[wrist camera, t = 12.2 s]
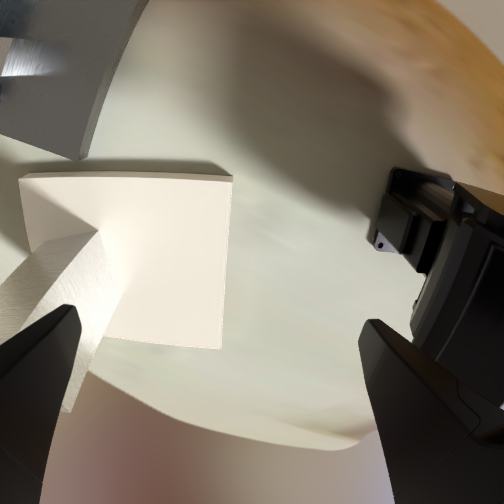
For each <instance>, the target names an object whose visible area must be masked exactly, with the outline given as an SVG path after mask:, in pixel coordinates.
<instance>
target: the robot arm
mask: <svg viewBox="0 0 504 504" xmlns="http://www.w3.org/2000/svg"><path fill="white" fill-rule="evenodd" d="M397 172H399V176H398V177H396V173H397ZM453 186H454V189H452V188H453ZM376 227H377V230H376V233H375V237H374V241H373V247H374V248H375V249H376V250H377V251H382V252H393V253H399V254H401V255H403V256H404V258H405V259H406V260H407V261H408V262H409V263H410V265H411V266H412V267H413V268H414V269H415V271H416V272H417V273H422V274H423V275H424V276H425V277H426V280H425V282H424V285H423V287H422V290H421V292H420V294H419V297H418V299H417V300H415V303H414V305H413V313H412V315H411V320H410V327H411V331H412V335H413V337H414V338H413V340H412V343H411V342H409V341H408V340H407V339H405V338H404V337H403V336H401V335H400V334H399V333H397V332H396V331H395V330H393V329H392V328H391V327H389V326H388V325H387V324H385V323H384V322H383V321H381V320H380V319H368V320H366V322H365V324H364V326H363V329H362V332H361V334H360V337H359V340H358V346H359V351H360V356H361V362H362V368H363V373H364V379H365V384H366V388H367V392H368V395H369V399H370V402H371V406H372V410H373V413H374V417H375V421H376V424H377V428H378V432H379V436H380V440H381V444H382V448H383V452H384V456H385V460H386V464H387V468H388V473H389V477H390V482H391V486H392V491H393V495H394V501H395V504H504V410H503V409H501V407H502V406H503V405H504V196H503V195H500V194H497V193H494V192H491V191H488V190H485V189H481V188H478V187H475V186H471V185H468V184H464V183H461V182H457V181H456V182H455V181H453V180H449V179H446V178H442V177H438V176H434V175H430V174H426V173H422V172H418V171H414V170H409V169H405V168H401V167H394V168H393V169H392V170H391V173H390V177H389V182H388V186H387V190H386V194H385V195H384V196H383V200H382V204H381V208H380V212H379V216H378V219H377V223H376ZM380 242H382V243H381V245H380V246H378V244H379V243H380ZM81 333H82V324H81V321H80V318H79V314H78V311H77V308H76V306H75V305H71V304H62V305H60V306H59V307H57V308H56V309H54V310H53V311H51V312H49V313H48V314H46V315H45V316H43V317H42V318H40V319H39V320H37V321H35V322H34V323H32V324H31V325H29V326H28V327H26V328H25V329H23V330H22V331H20V332H19V333H17V334H16V335H14V336H13V337H11V338H10V339H8V340H7V341H5V342H4V343H2V344H1V345H0V504H39V502H40V496H41V490H42V485H43V483H42V482H43V478H44V473H45V468H46V464H47V459H48V455H49V450H50V446H51V442H52V438H53V434H54V430H55V427H56V423H57V419H58V416H59V412H60V409H61V406H62V402H63V399H64V396H65V392H66V389H67V386H68V383H69V380H70V377H71V374H72V370H73V366H74V362H75V357H76V353H77V349H78V345H79V341H80V337H81Z"/></svg>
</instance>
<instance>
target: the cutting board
mask: <svg viewBox="0 0 504 504" xmlns="http://www.w3.org/2000/svg"><path fill="white" fill-rule="evenodd" d="M18 181H19V189H20V196H21V203H22V209H23V215H24V221H25V226H26V231H27V236H28V241H29V246H30V250H31V253H32V252H33V251H34V250H35V249H36V248H38V247H39V246H40V245H41V244H42V243H43V242H44V241H49V240H53V239H58V238H63V237H68V236H73V235H77V234H82V233H87V232H92V231H97V230H99V233H100V235H101V238H102V241H103V244H104V247H105V250H106V253H107V255H108V258H109V261H110V264H111V266H112V269H113V271H114V274H115V277H116V279H117V282H118V284H119V287H120V289H121V292H122V296H121V298H120V300H119V302H118V304H117V306H116V308H115V310H114V312H113V314H112V317H111V319H110V321H109V323H108V325H107V327H106V329H105V331H104V334H103V336H107V337H113V338H120V339H127V340H134V341H141V342H149V343H158V344H166V345H176V346H186V347H197V348H210V349H221V342H222V324H223V308H224V292H225V276H226V262H227V248H228V234H229V221H230V209H231V196H232V184H233V176H221V175H206V174H189V173H167V172H132V171H76V172H43V173H28V174H26V175H25V176H23V177H21V178H19V179H18Z"/></svg>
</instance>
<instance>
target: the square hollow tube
mask: <svg viewBox="0 0 504 504" xmlns="http://www.w3.org/2000/svg"><path fill="white" fill-rule="evenodd" d="M121 296H122V292H121V289H120V287H119V284H118V282H117V279H116V277H115V274H114V271H113V269H112V266H111V264H110V261H109V258H108V255H107V253H106V250H105V247H104V244H103V241H102V238H101V235H100V233H99V230H97V231H92V232H87V233H82V234H77V235H73V236H68V237H63V238H58V239H53V240H49V241H44V242H43V243H42V244H41V245H40V246H39V247H38V248H36V249H35V250H34V251H33V252H32V253H31V254H30V255H29V256H28V257H27V258H26V259H25V260H24V261H23V262H22V263H21V264H20V265H19V266H18V267H17V268H16V269H15V271H14V272H13V273H12V274H11V275H10V276H9V277H8V278H7V279H6V280H5V281H4V282H3V283H2V284H1V285H0V345H1V344H2V343H4V342H5V341H7V340H8V339H10V338H11V337H13V336H14V335H16V334H17V333H19V332H20V331H22V330H23V329H25V328H26V327H28V326H29V325H31V324H32V323H34V322H35V321H37V320H39V319H40V318H42V317H43V316H45V315H46V314H48V313H49V312H51V311H53V310H54V309H56V308H57V307H59V306H60V305H62V304H71V305H75V306H76V308H77V311H78V314H79V318H80V321H81V324H82V333H81V337H80V341H79V345H78V349H77V353H76V357H75V362H74V366H73V370H72V374H71V377H70V380H69V383H68V386H67V389H66V392H65V396H64V399H63V402H62V406H61V409H60V411H61V412H68V413H70V412H71V410H72V407H73V405H74V402H75V399H76V397H77V394H78V392H79V389H80V387H81V384H82V382H83V379H84V377H85V374H86V372H87V370H88V367H89V365H90V363H91V360H92V358H93V356H94V354H95V351H96V349H97V347H98V345H99V342H100V340H101V338H102V336H103V334H104V331H105V329H106V327H107V325H108V323H109V321H110V319H111V317H112V314H113V312H114V310H115V308H116V306H117V304H118V302H119V300H120V298H121Z"/></svg>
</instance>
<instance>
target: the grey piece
mask: <svg viewBox="0 0 504 504" xmlns="http://www.w3.org/2000/svg"><path fill="white" fill-rule="evenodd" d="M148 1H149V0H0V134H1V135H4V136H7V137H10V138H13V139H16V140H19V141H21V142H24V143H27V144H30V145H33V146H35V147H38V148H41V149H44V150H46V151H49V152H52V153H55V154H57V155H60V156H63V157H66V158H68V159H71V160H74V161H77V162H78V161H80V160H82V159H84V158H86V157H87V156H88V152H89V148H90V144H91V141H92V137H93V134H94V131H95V127H96V124H97V121H98V118H99V115H100V112H101V109H102V106H103V103H104V100H105V97H106V94H107V91H108V89H109V86H110V83H111V81H112V78H113V76H114V73H115V71H116V68H117V66H118V63H119V61H120V58H121V56H122V54H123V51H124V49H125V47H126V45H127V43H128V40H129V38H130V36H131V34H132V32H133V30H134V28H135V26H136V24H137V22H138V20H139V18H140V16H141V14H142V12H143V10H144V8H145V6H146V4H147V2H148Z"/></svg>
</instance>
